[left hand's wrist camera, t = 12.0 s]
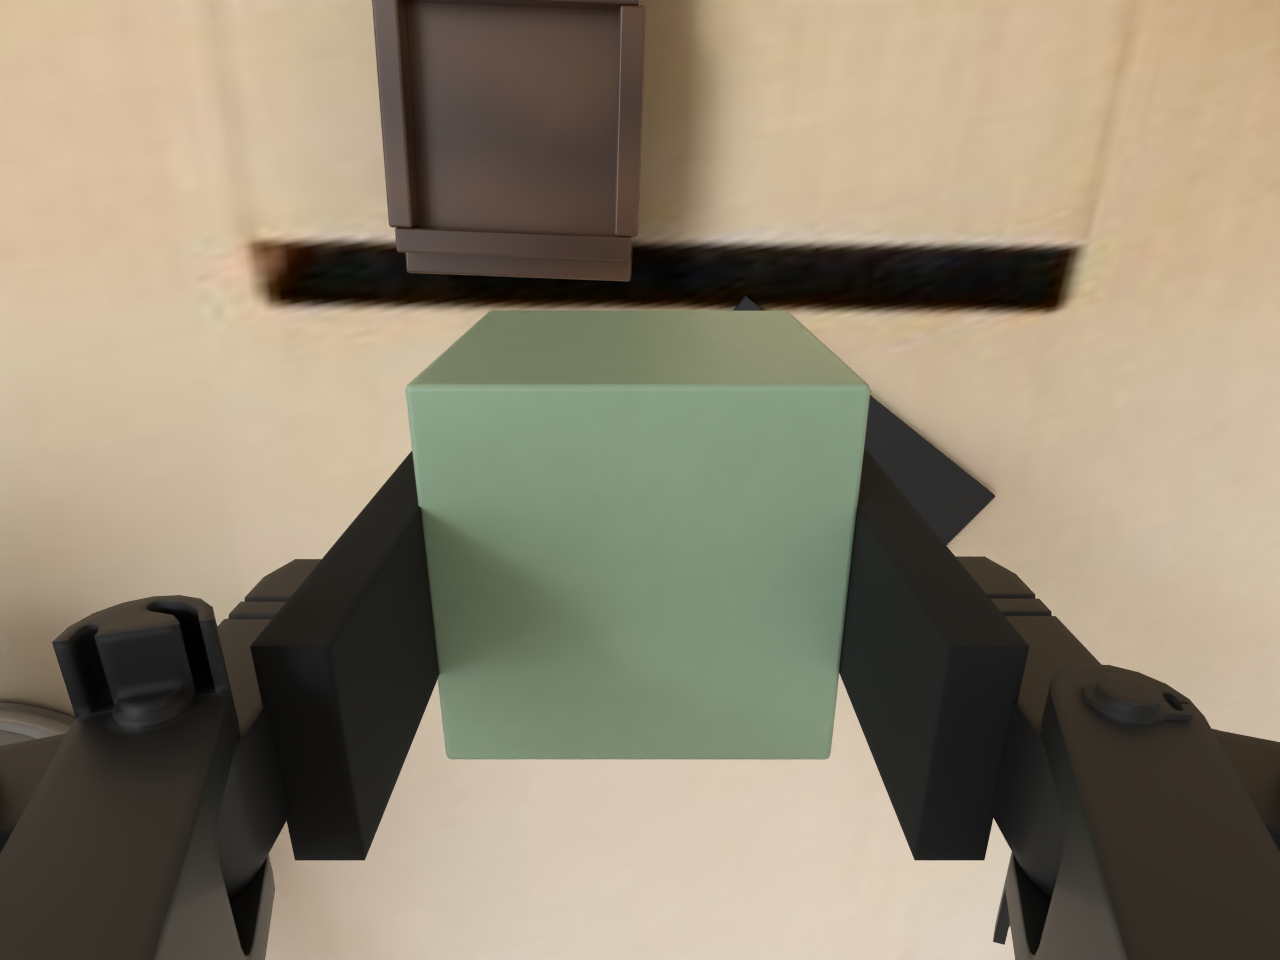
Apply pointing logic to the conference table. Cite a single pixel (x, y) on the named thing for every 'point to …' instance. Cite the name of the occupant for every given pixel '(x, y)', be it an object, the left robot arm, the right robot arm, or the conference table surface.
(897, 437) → the rubber mat
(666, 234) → the conference table surface
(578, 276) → the walnut board
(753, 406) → the green block
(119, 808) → the left robot arm
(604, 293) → the conference table surface
